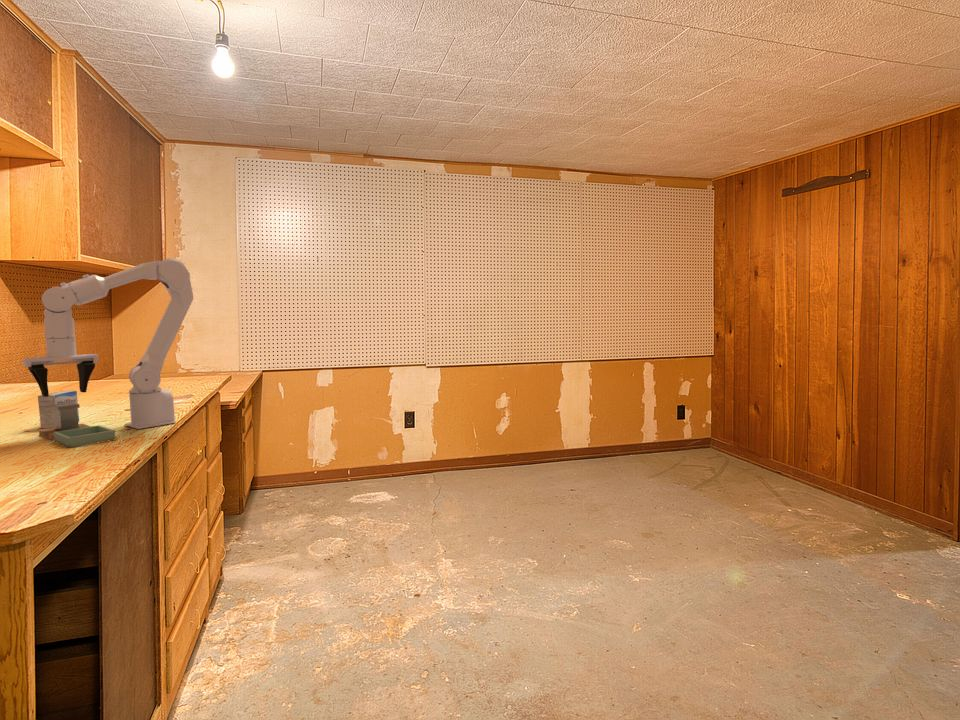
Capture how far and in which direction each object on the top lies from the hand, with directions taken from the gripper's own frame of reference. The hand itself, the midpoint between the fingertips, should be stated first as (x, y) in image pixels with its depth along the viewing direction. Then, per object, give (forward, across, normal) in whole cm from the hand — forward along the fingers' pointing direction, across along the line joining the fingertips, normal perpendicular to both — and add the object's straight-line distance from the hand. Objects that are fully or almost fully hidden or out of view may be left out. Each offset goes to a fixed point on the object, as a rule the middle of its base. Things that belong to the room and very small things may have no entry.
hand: (64, 394), depth 134 cm
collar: (+10, 0, 0) cm, 10 cm away
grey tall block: (+10, 0, 0) cm, 10 cm away
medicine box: (+10, -2, -13) cm, 17 cm away
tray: (+10, 0, +11) cm, 15 cm away
